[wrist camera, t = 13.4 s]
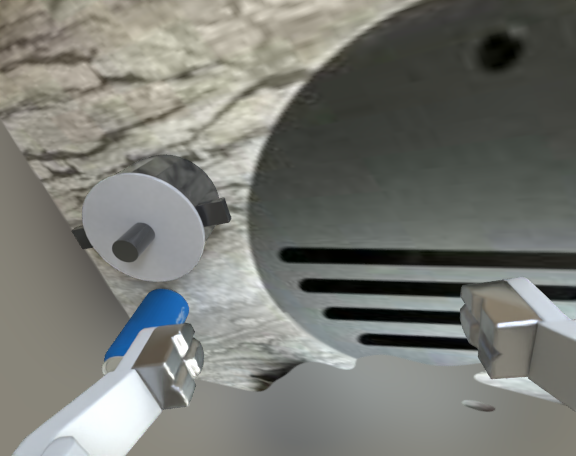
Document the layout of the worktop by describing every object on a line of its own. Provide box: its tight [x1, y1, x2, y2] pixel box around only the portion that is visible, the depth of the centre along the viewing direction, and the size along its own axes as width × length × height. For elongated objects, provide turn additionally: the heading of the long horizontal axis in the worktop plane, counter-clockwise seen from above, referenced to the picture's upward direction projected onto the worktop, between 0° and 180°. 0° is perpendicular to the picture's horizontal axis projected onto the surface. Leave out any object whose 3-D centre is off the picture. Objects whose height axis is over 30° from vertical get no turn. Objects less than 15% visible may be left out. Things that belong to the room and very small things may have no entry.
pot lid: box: [82, 173, 205, 282], centre depth 30 cm, size 12×12×5 cm
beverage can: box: [102, 289, 189, 376], centre depth 40 cm, size 6×6×12 cm
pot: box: [72, 155, 231, 249], centre depth 35 cm, size 12×17×7 cm
